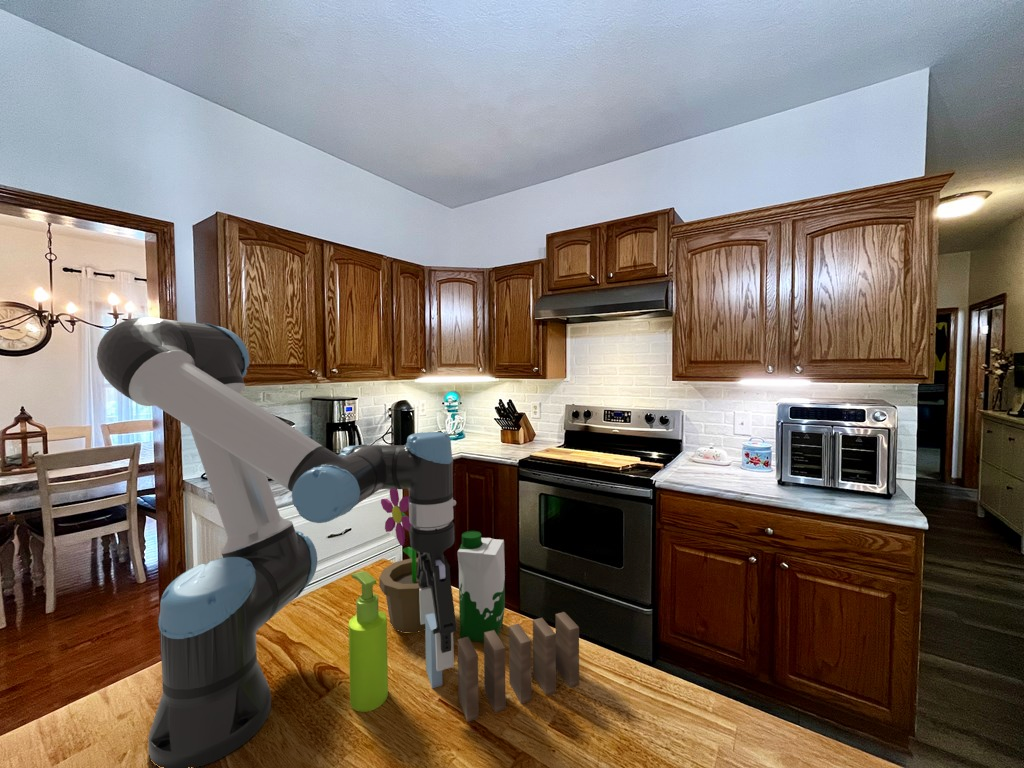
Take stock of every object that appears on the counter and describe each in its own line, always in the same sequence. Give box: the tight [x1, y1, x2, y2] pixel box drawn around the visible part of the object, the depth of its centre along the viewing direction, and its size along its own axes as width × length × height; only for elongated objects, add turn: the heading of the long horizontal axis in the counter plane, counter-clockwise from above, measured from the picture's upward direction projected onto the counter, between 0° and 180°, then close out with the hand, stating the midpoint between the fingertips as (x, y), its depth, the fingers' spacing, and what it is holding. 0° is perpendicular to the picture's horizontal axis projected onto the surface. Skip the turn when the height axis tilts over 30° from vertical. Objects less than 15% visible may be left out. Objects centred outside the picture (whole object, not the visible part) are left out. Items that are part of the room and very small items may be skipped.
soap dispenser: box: [348, 570, 389, 712], centre depth 70 cm, size 6×7×20 cm
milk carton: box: [456, 530, 506, 643], centre depth 88 cm, size 9×9×20 cm
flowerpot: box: [378, 489, 425, 633], centre depth 92 cm, size 14×14×30 cm
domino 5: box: [532, 617, 557, 696], centre depth 73 cm, size 2×5×10 cm, turn 23°
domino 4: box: [508, 623, 532, 705], centre depth 71 cm, size 2×5×10 cm, turn 23°
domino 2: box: [457, 637, 479, 723], centre depth 68 cm, size 2×5×10 cm, turn 23°
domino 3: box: [483, 630, 507, 714], centre depth 70 cm, size 2×5×10 cm, turn 23°
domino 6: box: [555, 611, 580, 688], centre depth 75 cm, size 2×5×10 cm, turn 23°
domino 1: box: [424, 613, 443, 689], centre depth 75 cm, size 2×5×10 cm, turn 23°
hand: (435, 643), depth 75 cm, fingers open, 13 cm apart
